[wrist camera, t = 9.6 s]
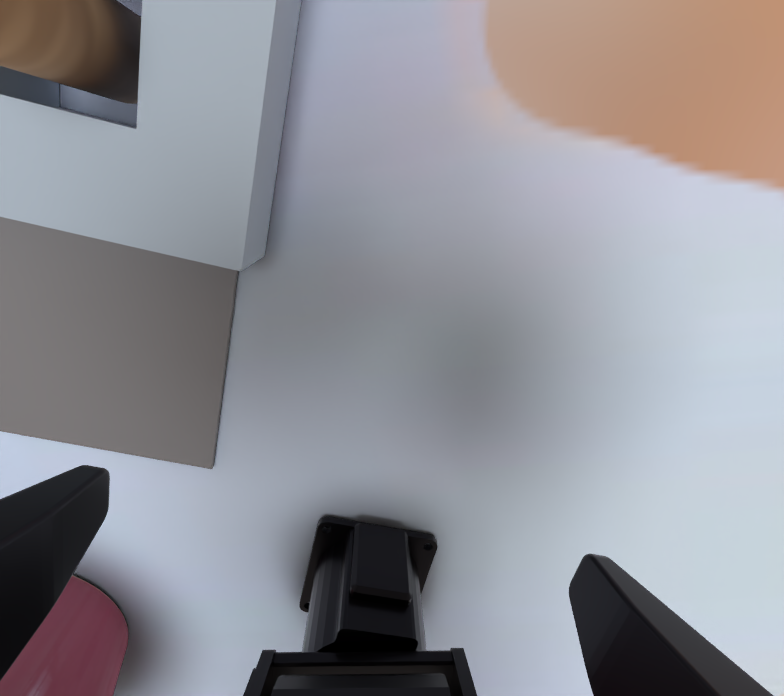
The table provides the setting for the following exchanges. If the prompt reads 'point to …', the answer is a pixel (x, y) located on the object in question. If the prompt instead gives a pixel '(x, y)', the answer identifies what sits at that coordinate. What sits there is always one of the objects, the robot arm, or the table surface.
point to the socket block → (163, 137)
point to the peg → (74, 44)
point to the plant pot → (72, 648)
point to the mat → (112, 344)
